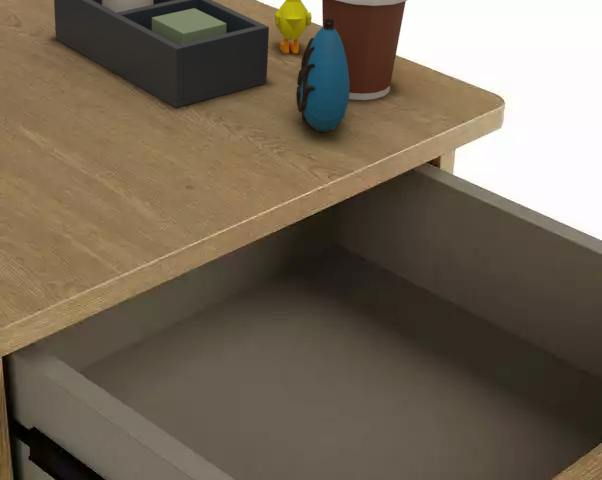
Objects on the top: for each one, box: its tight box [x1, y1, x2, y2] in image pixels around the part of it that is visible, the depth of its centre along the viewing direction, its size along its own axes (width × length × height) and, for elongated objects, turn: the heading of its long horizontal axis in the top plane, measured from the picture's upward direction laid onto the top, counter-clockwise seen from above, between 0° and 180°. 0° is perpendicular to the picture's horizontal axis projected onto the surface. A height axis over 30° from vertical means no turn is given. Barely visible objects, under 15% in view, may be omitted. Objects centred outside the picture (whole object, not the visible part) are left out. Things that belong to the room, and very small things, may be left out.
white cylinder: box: [102, 0, 153, 13], centre depth 127 cm, size 5×5×7 cm
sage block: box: [152, 8, 227, 45], centre depth 122 cm, size 5×5×5 cm
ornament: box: [295, 18, 350, 133], centre depth 113 cm, size 8×5×10 cm, turn 2°
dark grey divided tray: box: [53, 0, 270, 108], centre depth 125 cm, size 11×20×6 cm, turn 41°
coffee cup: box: [321, 0, 408, 101], centre depth 120 cm, size 9×9×12 cm
